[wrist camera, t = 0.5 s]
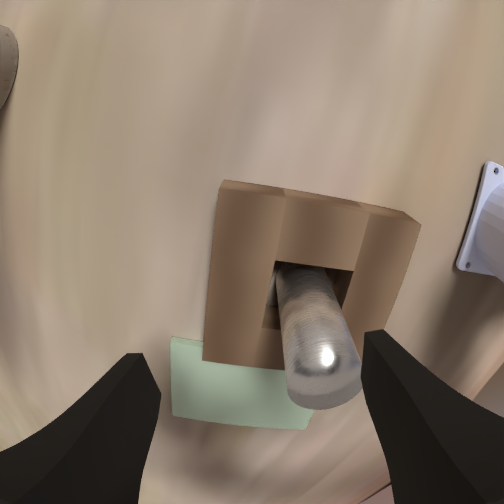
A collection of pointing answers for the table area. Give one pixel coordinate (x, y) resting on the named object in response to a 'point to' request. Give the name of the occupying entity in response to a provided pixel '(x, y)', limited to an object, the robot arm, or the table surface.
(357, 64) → the table surface
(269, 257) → the eye block
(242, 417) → the sage mat
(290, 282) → the steel peg
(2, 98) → the thermos bottle
